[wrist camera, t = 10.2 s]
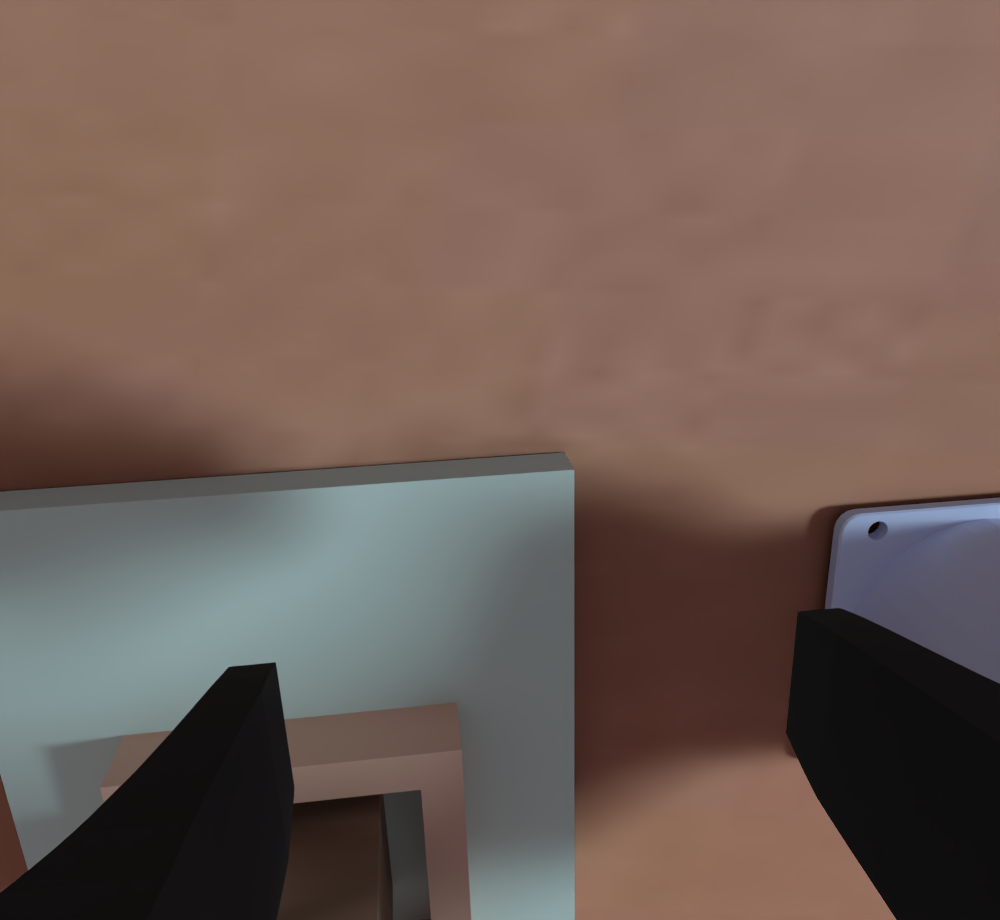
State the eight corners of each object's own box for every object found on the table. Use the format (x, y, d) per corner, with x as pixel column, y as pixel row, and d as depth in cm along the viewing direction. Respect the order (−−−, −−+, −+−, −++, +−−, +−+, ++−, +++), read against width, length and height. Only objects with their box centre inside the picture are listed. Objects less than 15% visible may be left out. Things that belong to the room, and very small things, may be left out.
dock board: (564, 452, 21) (591, 500, 18) (567, 1034, 27) (586, 1134, 25) (-47, 495, 19) (-122, 553, 16) (117, 1097, 26) (84, 1211, 23)
